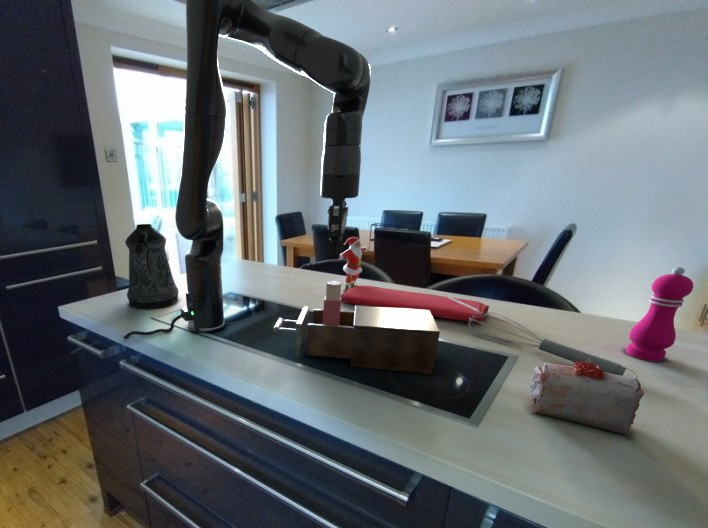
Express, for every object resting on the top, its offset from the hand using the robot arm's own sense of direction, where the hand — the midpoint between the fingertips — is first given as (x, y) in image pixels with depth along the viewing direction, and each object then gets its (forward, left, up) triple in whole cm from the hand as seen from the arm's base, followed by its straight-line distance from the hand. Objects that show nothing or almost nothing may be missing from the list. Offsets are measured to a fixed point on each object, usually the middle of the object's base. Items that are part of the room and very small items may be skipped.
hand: (335, 254), depth 83 cm
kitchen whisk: (+42, -23, -23) cm, 53 cm away
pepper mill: (+61, -35, -23) cm, 74 cm away
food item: (+21, -41, -23) cm, 51 cm away
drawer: (-2, +1, -22) cm, 22 cm away
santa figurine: (+38, +40, -23) cm, 59 cm away
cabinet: (+10, -9, -23) cm, 26 cm away
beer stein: (-28, +58, -23) cm, 69 cm away
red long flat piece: (+41, +15, -23) cm, 50 cm away
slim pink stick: (0, 0, -21) cm, 21 cm away
